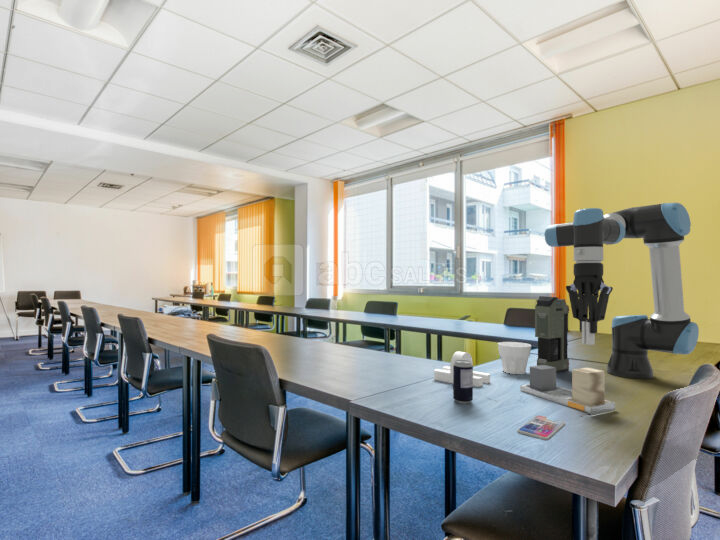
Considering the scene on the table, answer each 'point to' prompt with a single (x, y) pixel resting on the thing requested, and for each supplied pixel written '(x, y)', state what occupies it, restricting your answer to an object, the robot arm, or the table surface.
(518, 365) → the cup
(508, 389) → the table surface
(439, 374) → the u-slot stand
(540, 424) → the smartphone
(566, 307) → the device
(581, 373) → the panel block
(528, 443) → the table surface
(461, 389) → the beverage can
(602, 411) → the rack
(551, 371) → the blank block
